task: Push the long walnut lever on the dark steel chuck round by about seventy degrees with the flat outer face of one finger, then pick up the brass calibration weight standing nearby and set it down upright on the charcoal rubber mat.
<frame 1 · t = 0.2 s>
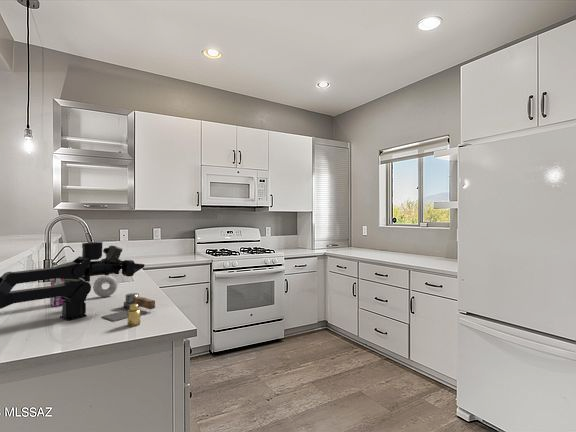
hand: (138, 264, 143), 16 cm above the worktop, tool horizontal, fingers open, 9 cm apart
donut: (105, 297, 152), on the worktop
rubber mat: (119, 316, 123), on the worktop
chuck lever: (139, 302, 133), point 3 cm above the worktop, hinge at 0.0°
candy bar box: (67, 303, 140), on the worktop
brass calibration weight: (133, 324, 114), on the worktop
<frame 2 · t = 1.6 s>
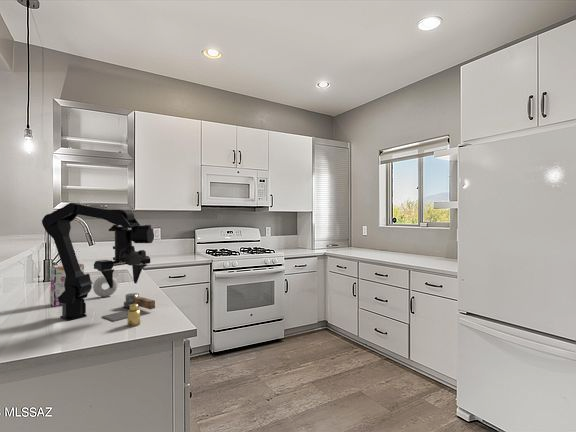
hand: (123, 285, 122), 12 cm above the worktop, tool pointing down, fingers open, 9 cm apart
nothing on the worktop moved.
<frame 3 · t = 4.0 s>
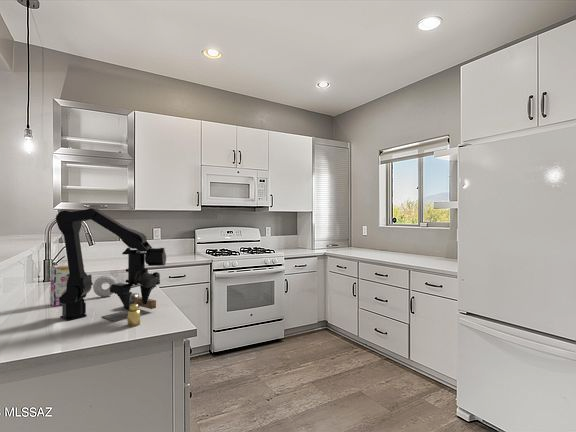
hand: (136, 307, 125), 3 cm above the worktop, tool pointing down, fingers open, 8 cm apart
chuck lever: (140, 302, 133), point 3 cm above the worktop, hinge at 2.0°, touching gripper
everything else where it was.
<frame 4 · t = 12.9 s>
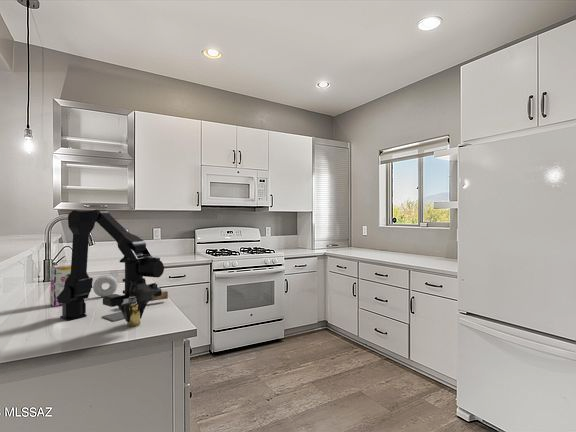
hand: (133, 320, 114), 2 cm above the worktop, tool pointing down, fingers closed on brass calibration weight, 4 cm apart
chuck lever: (146, 298, 139), point 3 cm above the worktop, hinge at 69.5°
brass calibration weight: (133, 324, 114), on the worktop, touching gripper
everything else where it was.
when the fingers open (3 cm above the worktop, at t = 17.0 s): brass calibration weight drops 1 cm, resting on rubber mat.
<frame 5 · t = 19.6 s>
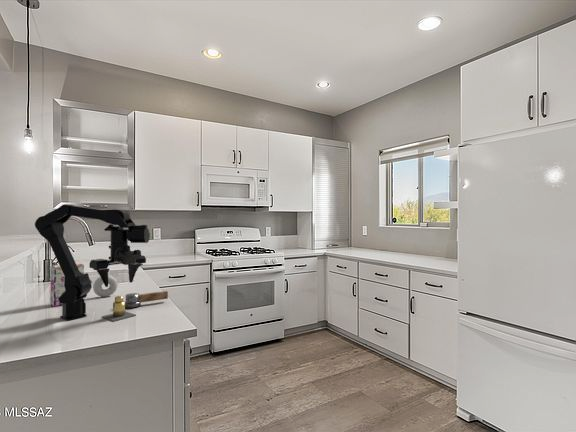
hand: (119, 284, 123), 12 cm above the worktop, tool pointing down, fingers open, 9 cm apart
brass calibration weight: (119, 315, 123), resting on rubber mat
everything else where it was.
at the end: chuck lever at +70° (first picture: +0°); brass calibration weight 0.0 cm off-centre on the rubber mat, point 0.4 cm above the rubber mat's base; brass calibration weight tilted 0° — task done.
